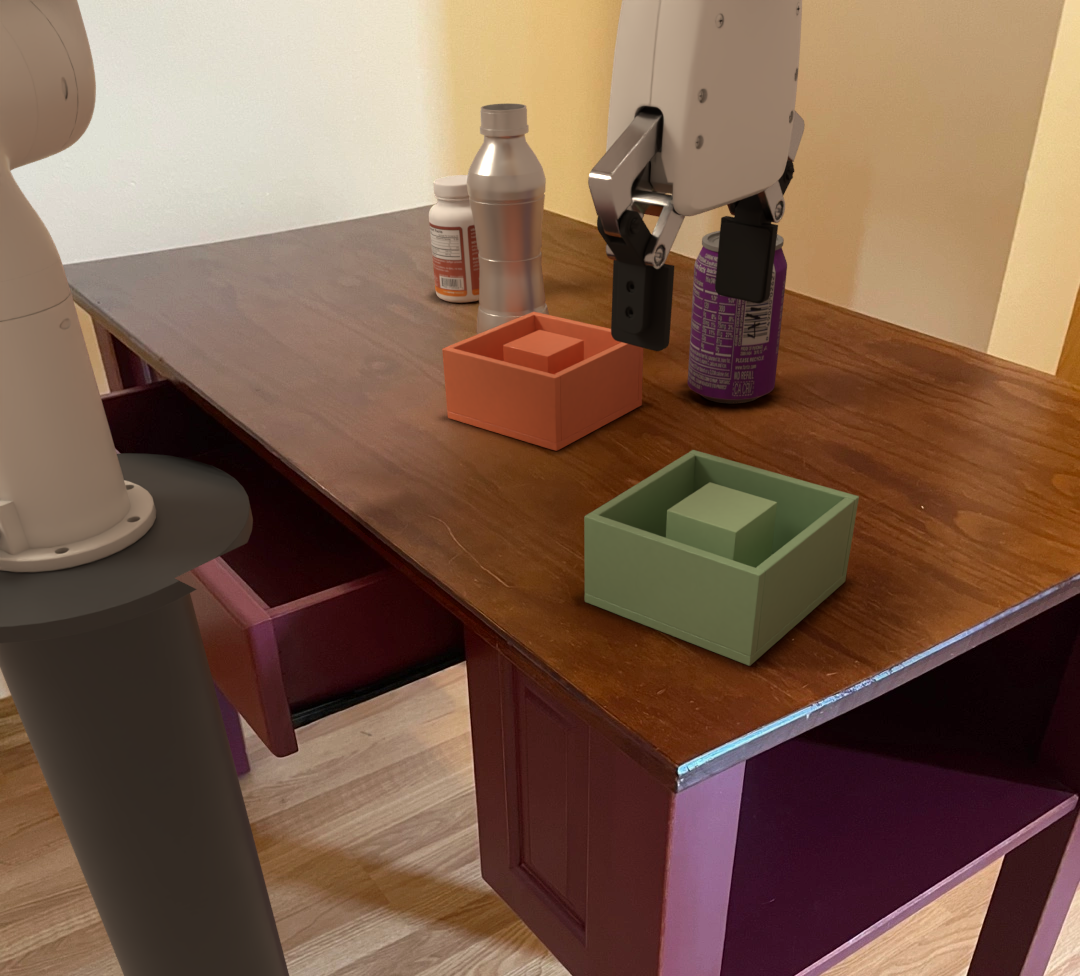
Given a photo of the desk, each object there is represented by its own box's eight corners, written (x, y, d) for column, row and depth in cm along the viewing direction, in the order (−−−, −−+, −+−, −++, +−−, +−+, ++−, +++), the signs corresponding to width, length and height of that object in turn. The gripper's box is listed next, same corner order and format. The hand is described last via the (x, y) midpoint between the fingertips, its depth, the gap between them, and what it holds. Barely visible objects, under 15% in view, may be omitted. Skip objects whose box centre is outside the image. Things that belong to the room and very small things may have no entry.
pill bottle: (487, 284, 117) (481, 170, 110) (500, 300, 112) (494, 182, 105) (430, 290, 115) (420, 175, 109) (441, 306, 111) (431, 188, 104)
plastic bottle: (527, 376, 94) (518, 115, 82) (463, 364, 97) (445, 110, 85) (565, 354, 98) (561, 103, 86) (502, 343, 101) (490, 98, 89)
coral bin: (556, 451, 81) (555, 378, 78) (447, 418, 87) (441, 348, 84) (642, 405, 88) (644, 335, 85) (535, 377, 94) (533, 311, 91)
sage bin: (749, 666, 58) (759, 575, 55) (584, 602, 64) (583, 516, 61) (845, 581, 65) (859, 496, 62) (688, 530, 71) (692, 449, 67)
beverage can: (783, 383, 91) (800, 231, 84) (760, 414, 86) (776, 254, 79) (702, 373, 94) (712, 224, 86) (675, 402, 88) (683, 246, 81)
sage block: (729, 611, 62) (736, 532, 59) (663, 587, 64) (666, 509, 61) (768, 578, 64) (777, 501, 61) (704, 557, 67) (709, 481, 64)
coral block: (549, 419, 85) (547, 356, 82) (505, 407, 87) (502, 344, 84) (584, 402, 87) (584, 339, 84) (541, 390, 90) (539, 329, 87)
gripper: (752, -88, 54) (719, 271, 65) (530, -78, 43) (534, 348, 54) (893, -86, 50) (834, 295, 61) (687, -75, 40) (658, 383, 50)
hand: (693, 320), depth 57 cm, fingers open, 9 cm apart
